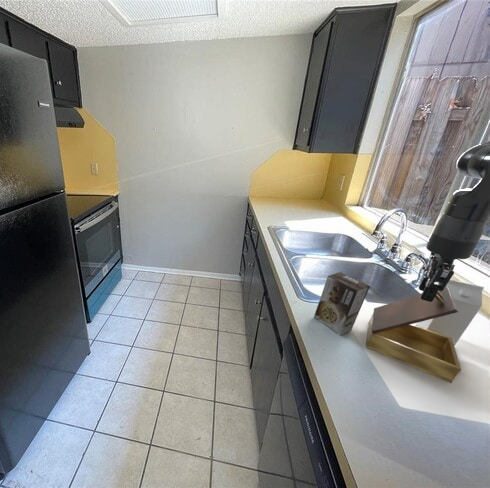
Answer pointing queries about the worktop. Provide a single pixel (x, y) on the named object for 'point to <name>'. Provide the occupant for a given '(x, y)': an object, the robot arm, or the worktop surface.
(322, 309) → the coffee box
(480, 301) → the milk carton
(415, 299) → the cover
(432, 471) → the worktop surface
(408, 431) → the worktop surface
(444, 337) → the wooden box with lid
